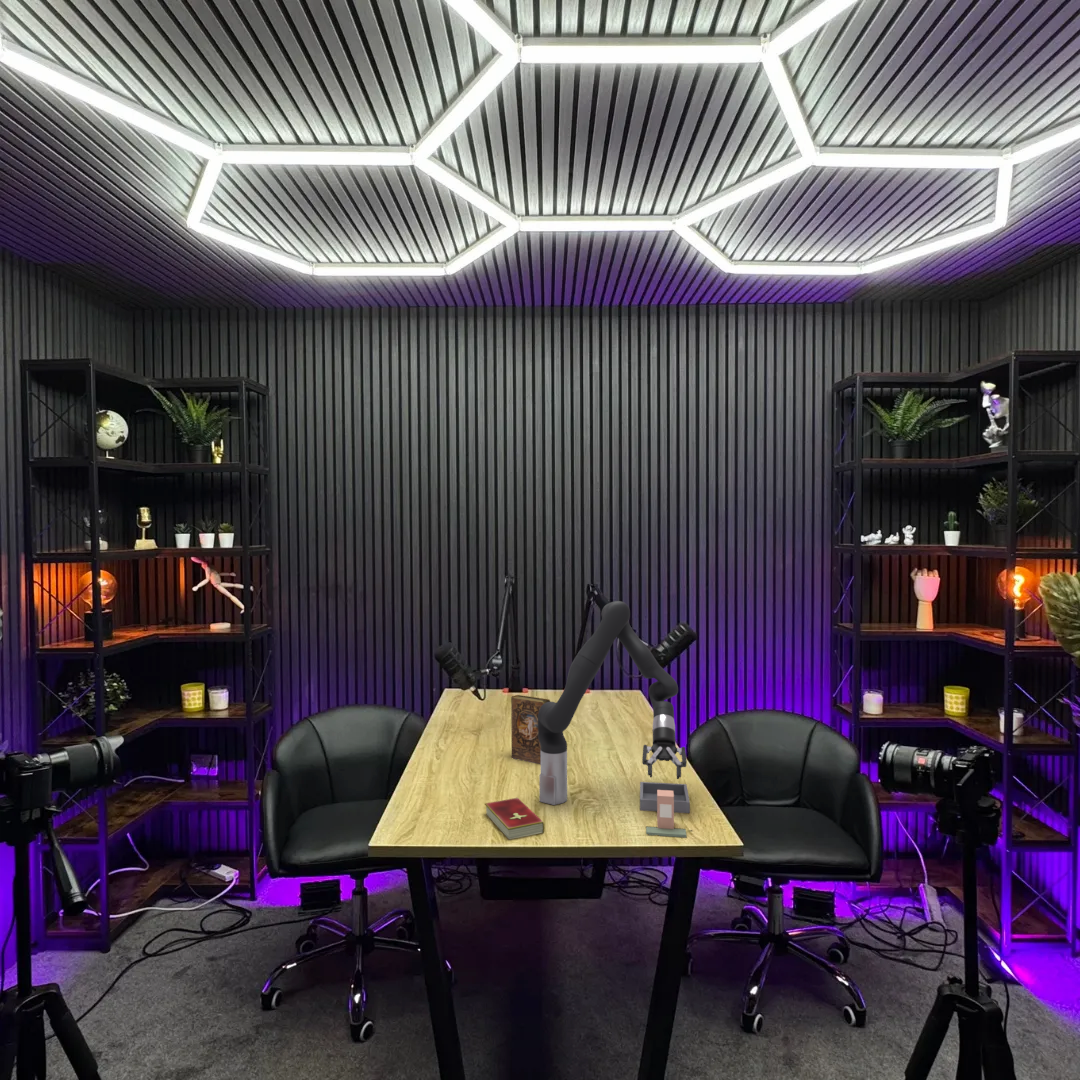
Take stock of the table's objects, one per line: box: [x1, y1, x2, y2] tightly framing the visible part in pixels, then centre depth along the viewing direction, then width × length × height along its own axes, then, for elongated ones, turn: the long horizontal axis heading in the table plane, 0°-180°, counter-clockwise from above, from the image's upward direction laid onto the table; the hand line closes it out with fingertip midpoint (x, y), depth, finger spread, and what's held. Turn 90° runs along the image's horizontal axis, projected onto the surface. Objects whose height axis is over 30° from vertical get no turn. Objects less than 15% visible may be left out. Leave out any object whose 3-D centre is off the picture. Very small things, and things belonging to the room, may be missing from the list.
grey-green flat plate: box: [645, 826, 687, 839], centre depth 209 cm, size 12×12×1 cm
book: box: [510, 694, 551, 765], centre depth 273 cm, size 16×6×25 cm, turn 59°
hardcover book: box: [484, 797, 545, 840], centre depth 213 cm, size 12×21×4 cm, turn 24°
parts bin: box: [639, 781, 691, 814], centre depth 227 cm, size 16×16×4 cm
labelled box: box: [656, 790, 675, 829], centre depth 209 cm, size 5×5×10 cm
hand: (664, 777), depth 215 cm, fingers open, 8 cm apart
